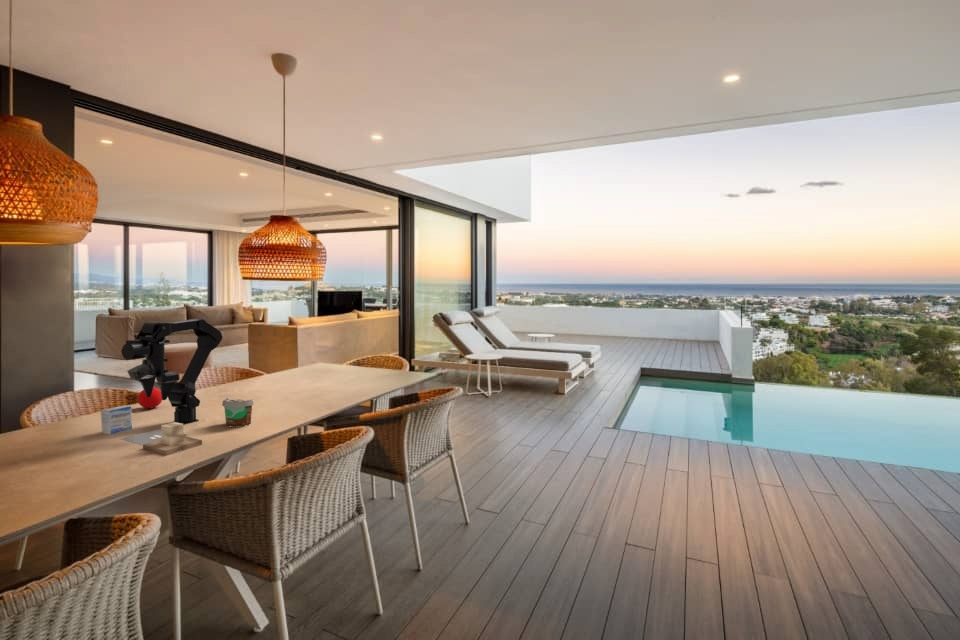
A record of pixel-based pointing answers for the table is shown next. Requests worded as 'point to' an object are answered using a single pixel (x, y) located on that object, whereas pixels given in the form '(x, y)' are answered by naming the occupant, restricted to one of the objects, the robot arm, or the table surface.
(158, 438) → the tile
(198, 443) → the walnut board
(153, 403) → the ornament
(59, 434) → the table surface
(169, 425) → the maple block
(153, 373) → the robot arm
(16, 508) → the table surface
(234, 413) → the food container
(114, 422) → the medicine box
